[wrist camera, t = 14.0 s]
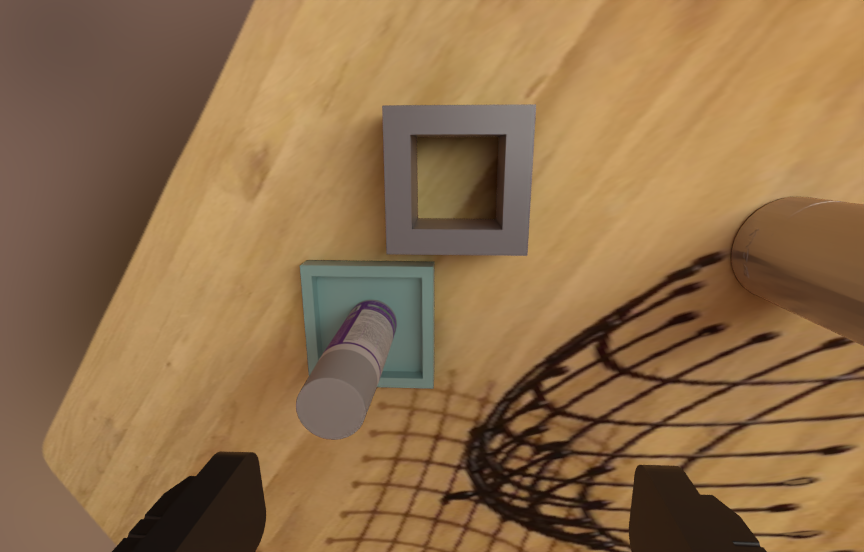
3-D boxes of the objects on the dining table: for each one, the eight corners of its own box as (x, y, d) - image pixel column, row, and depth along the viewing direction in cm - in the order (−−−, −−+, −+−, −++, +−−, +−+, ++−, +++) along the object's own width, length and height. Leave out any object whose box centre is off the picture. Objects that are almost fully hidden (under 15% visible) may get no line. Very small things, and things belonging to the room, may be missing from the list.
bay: (523, 112, 37) (536, 104, 31) (516, 241, 40) (527, 255, 34) (393, 113, 38) (382, 105, 32) (396, 240, 41) (386, 254, 35)
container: (357, 349, 43) (308, 448, 29) (342, 305, 42) (282, 385, 28) (403, 338, 43) (376, 433, 28) (388, 293, 41) (353, 368, 27)
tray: (434, 261, 41) (433, 266, 39) (434, 378, 44) (433, 388, 42) (307, 260, 42) (299, 265, 40) (315, 375, 45) (309, 385, 43)
